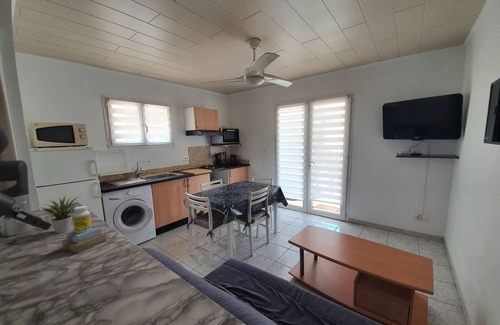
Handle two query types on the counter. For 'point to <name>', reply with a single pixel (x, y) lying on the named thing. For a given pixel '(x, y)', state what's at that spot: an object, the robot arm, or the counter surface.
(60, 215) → the house plant
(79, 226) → the supplement bottle
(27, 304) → the counter surface
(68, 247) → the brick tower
